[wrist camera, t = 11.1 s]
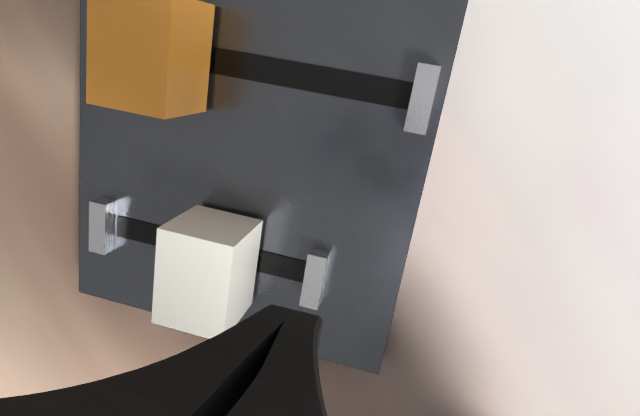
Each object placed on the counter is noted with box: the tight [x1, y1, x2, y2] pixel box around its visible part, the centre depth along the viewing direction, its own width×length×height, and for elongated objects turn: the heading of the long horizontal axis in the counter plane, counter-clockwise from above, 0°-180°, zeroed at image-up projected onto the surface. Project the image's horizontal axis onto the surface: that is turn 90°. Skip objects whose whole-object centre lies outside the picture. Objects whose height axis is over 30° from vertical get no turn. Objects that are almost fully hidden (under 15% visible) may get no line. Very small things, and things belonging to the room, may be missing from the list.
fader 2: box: [151, 205, 263, 339], centre depth 19 cm, size 4×3×3 cm
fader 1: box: [86, 0, 215, 120], centre depth 17 cm, size 4×3×3 cm
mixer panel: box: [79, 0, 468, 374], centre depth 20 cm, size 16×15×2 cm
